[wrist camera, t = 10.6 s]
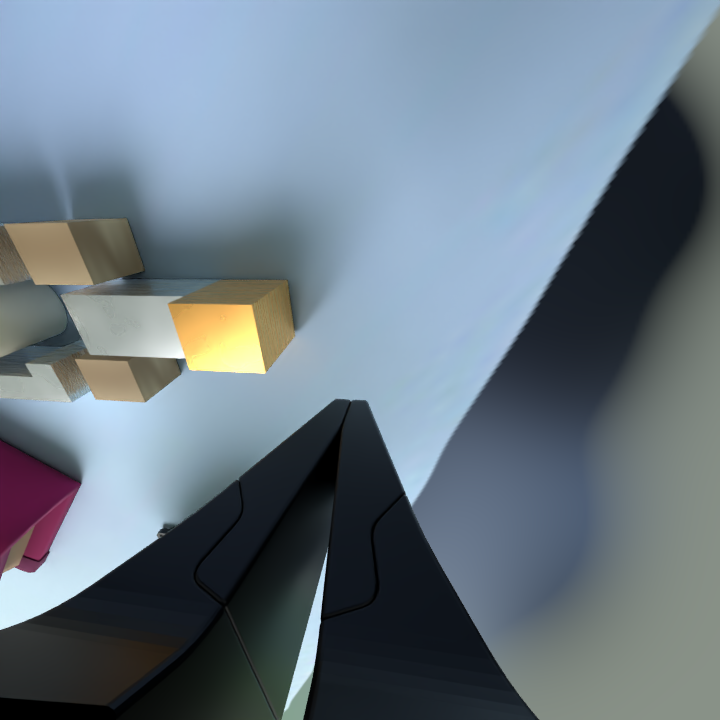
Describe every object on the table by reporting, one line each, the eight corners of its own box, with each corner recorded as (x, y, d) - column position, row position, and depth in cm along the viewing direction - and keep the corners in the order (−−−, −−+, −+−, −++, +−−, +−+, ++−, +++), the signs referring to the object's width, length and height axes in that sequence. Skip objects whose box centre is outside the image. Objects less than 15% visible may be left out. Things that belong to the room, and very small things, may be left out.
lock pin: (294, 335, 16) (265, 373, 13) (136, 331, 18) (70, 364, 14) (287, 279, 15) (251, 304, 11) (116, 279, 16) (36, 301, 13)
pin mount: (181, 374, 19) (145, 402, 16) (137, 371, 19) (95, 399, 17) (126, 218, 15) (66, 222, 12) (72, 219, 15) (3, 224, 13)
